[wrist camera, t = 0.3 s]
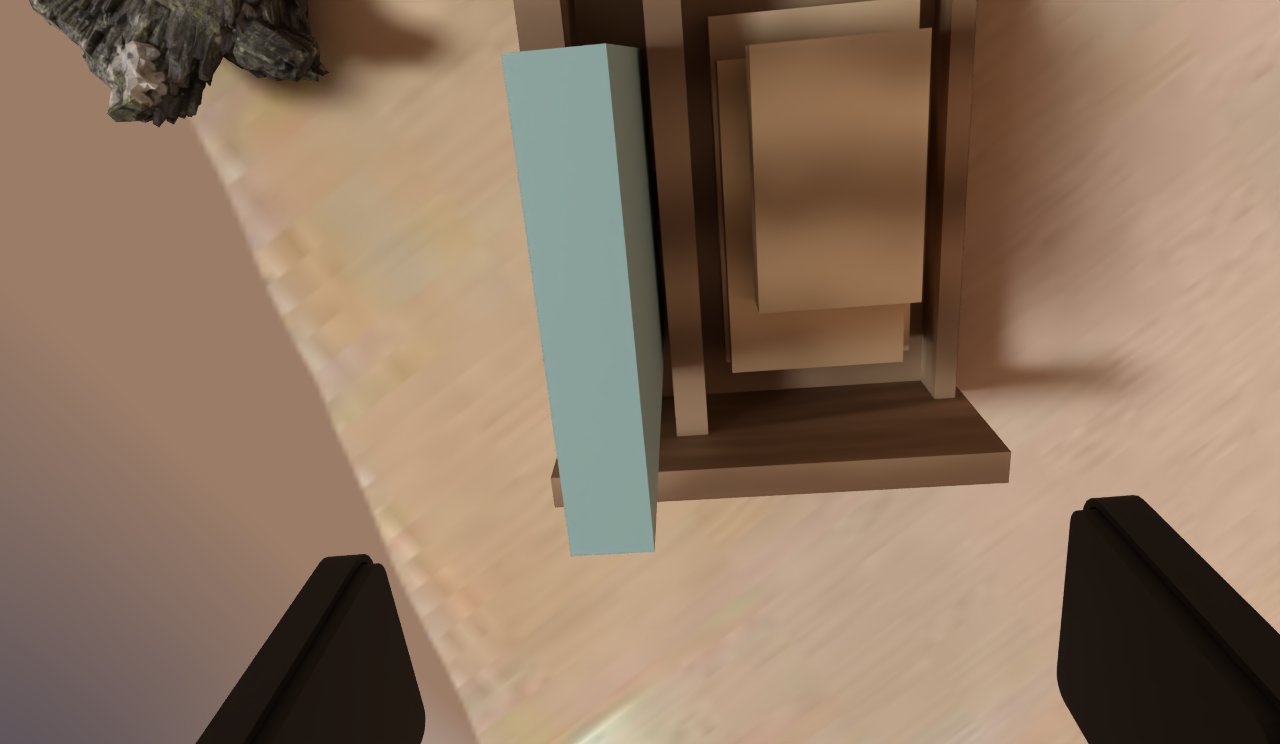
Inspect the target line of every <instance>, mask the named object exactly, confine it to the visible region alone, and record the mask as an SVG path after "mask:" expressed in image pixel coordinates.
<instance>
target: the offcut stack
mask: <svg viewBox="0 0 1280 744" xmlns="http://www.w3.org/2000/svg"><path fill="white" fill-rule="evenodd" d="M919 21H920V0H875V1H865V2H854V3H844V4H834V5H824V6H813V7H803V8H793V9H782V10H772V11H762V12H752V13H741V14H731V15H721V16H711V17H707V38H708V56H709V75H710V93H711V112H712V130H713V149H714V167H715V186H716V205H717V223H718V242H719V260H720V279H721V297H722V316H723V334H724V350H725V357H726V362H731V366H732V372H733V373H738V372H753V371H768V370H784V369H799V368H814V367H829V366H845V365H860V364H875V363H890V362H903V351H904V350H909V331H910V303H916V302H922V279H923V252H924V225H925V199H926V172H927V145H928V119H929V92H930V65H931V38H932V28H924V29H919Z"/></svg>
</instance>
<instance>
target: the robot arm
mask: <svg viewBox="0 0 1280 744" xmlns="http://www.w3.org/2000/svg"><path fill="white" fill-rule="evenodd" d="M1057 681H1058V686H1059V690H1060V693H1061V696H1062V698H1063V700H1064V702H1065V704H1066V706H1067V707H1068V709H1069V711H1070V713H1071V714H1072V716H1073V718H1074V719H1075V721H1076V723H1077V725H1078V726H1079V728H1080V730H1081V731H1082V733H1083V735H1084V737H1085V738H1086V740H1087V742H1088V743H1089V744H1280V634H1279V633H1278V632H1277V631H1276V630H1275V629H1274V628H1273V627H1272V626H1271V625H1270V624H1269V623H1268V622H1267V621H1266V620H1265V619H1264V618H1263V617H1262V616H1261V615H1260V614H1259V613H1258V612H1257V611H1256V610H1255V609H1254V608H1253V607H1252V606H1251V605H1250V604H1248V603H1247V602H1246V601H1245V600H1244V599H1243V598H1242V597H1241V596H1240V595H1239V594H1238V593H1237V592H1236V591H1235V590H1234V589H1233V588H1232V587H1231V586H1230V585H1229V584H1228V583H1227V582H1226V581H1225V580H1224V579H1223V578H1222V577H1221V576H1220V575H1219V574H1218V573H1217V572H1216V571H1215V570H1214V569H1213V568H1212V567H1211V566H1210V565H1209V564H1208V563H1207V562H1206V561H1205V560H1204V559H1203V558H1202V557H1201V556H1200V555H1199V554H1198V553H1197V552H1196V551H1195V550H1194V549H1193V548H1192V547H1191V546H1190V545H1189V544H1188V543H1187V542H1186V541H1185V540H1184V539H1183V538H1182V537H1181V536H1180V535H1179V534H1178V533H1177V532H1176V531H1175V530H1174V529H1173V528H1172V527H1171V526H1170V525H1169V524H1168V523H1167V522H1166V521H1165V520H1164V519H1163V518H1162V517H1161V516H1160V515H1159V514H1158V513H1157V512H1156V511H1155V510H1154V509H1153V508H1151V507H1150V506H1149V505H1148V504H1147V503H1146V502H1145V501H1144V500H1143V499H1142V498H1140V497H1139V496H1135V495H1129V496H1116V497H1102V498H1090V499H1089V500H1087V501H1086V503H1085V505H1084V508H1083V510H1079V511H1075V512H1073V514H1072V516H1071V520H1070V530H1069V541H1068V552H1067V563H1066V574H1065V585H1064V596H1063V607H1062V618H1061V629H1060V640H1059V651H1058V662H1057ZM424 730H425V710H424V706H423V702H422V699H421V695H420V691H419V688H418V684H417V681H416V677H415V674H414V670H413V667H412V663H411V660H410V656H409V652H408V649H407V645H406V642H405V638H404V635H403V631H402V627H401V624H400V620H399V617H398V613H397V610H396V606H395V602H394V599H393V595H392V592H391V588H390V585H389V581H388V578H387V574H386V571H385V568H384V567H383V566H382V565H381V564H379V563H377V564H373V561H372V560H371V558H370V557H369V556H368V555H366V554H359V555H347V556H333V557H326V558H324V559H323V560H322V561H321V562H320V563H319V565H318V566H317V567H316V569H315V570H314V572H313V573H312V575H311V576H310V578H309V579H308V581H307V582H306V584H305V585H304V586H303V588H302V589H301V591H300V592H299V594H298V595H297V597H296V598H295V600H294V601H293V602H292V604H291V605H290V607H289V609H288V610H287V611H286V613H285V614H284V616H283V617H282V619H281V620H280V622H279V623H278V624H277V626H276V627H275V629H274V630H273V632H272V633H271V635H270V636H269V638H268V639H267V640H266V642H265V643H264V645H263V646H262V648H261V649H260V651H259V652H258V653H257V655H256V656H255V658H254V659H253V661H252V662H251V664H250V666H249V667H248V668H247V670H246V671H245V672H244V674H243V675H242V677H241V678H240V680H239V681H238V683H237V684H236V686H235V687H234V689H233V690H232V691H231V693H230V694H229V696H228V697H227V699H226V700H225V702H224V703H223V705H222V706H221V707H220V709H219V711H218V712H217V714H216V715H215V716H214V718H213V719H212V721H211V722H210V724H209V725H208V726H207V728H206V729H205V731H204V732H203V734H202V735H201V737H200V738H199V740H198V741H197V742H196V744H421V741H422V738H423V735H424Z"/></svg>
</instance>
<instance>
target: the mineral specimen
mask: <svg viewBox="0 0 1280 744" xmlns="http://www.w3.org/2000/svg"><path fill="white" fill-rule="evenodd" d="M29 1H30V4H31V6H32V8H33V10H35V11H36V12H37V13H38V14H40V15H41V16H42V17H43V18H44V19H45V20H46V21H47V22H48V23H49V24H50V25H54V26H55V27H56V28H58V29H59V30H60V31H62V32H63V33H65V34H66V35H67V36H68V37H69V38H70V39H71V40H72V41H73V42H75V43H76V44H77V45H79V46H80V47H81V48H82V50H83V51H84V55H83V58H84V59H85V60H86V62H87V64H88V67H89V69H90V71H91V72H92V73H93V74H95V75H96V76H97V77H98V78H99V79H101V80H102V81H103V82H104V83H105V84H107V85H108V86H109V87H110V88H111V95H110V107H109V110H108V113H107V114H109V115H110V117H112V119H114V120H115V121H116V122H132V121H141V122H145V123H146V122H149V121H152V120H153V124H154V125H156V126H158V127H160V126H161V124H162V123H163V122H164V121H165V120H166V119H167V121H168V122H170V123H172V124H174V123H175V122H176V120H177V118H178V117H181V118H183V119H185V117H186V115H187V116H188V117H192V116H193V115H196V113H197V109H198V106H199V105H200V104H201V100H202V92H203V90H204V88H205V86H206V82H207V83H208V85H209V86H211V81H212V77H213V74H214V72H215V71H216V69H217V68H218V66H219V64H220V63H221V60H222V58H223V57H224V58H226V59H227V60H229V61H230V62H232V63H234V64H235V65H237V66H239V67H240V68H242V69H243V68H244V69H245V70H248V71H250V72H251V73H252V74H253V75H255V76H256V77H257V78H262V77H266V76H268V77H269V78H271V79H273V80H275V81H280V80H283V79H287V80H293V81H295V82H298V81H299V80H300V79H301V78H303V79H305V80H312V81H318V82H319V78H318V74H319V75H322V76H324V75H325V74H327V73H329V72H328V71H327V70H326V68H325V67H324V66H323V65H322V63H321V62H320V53H319V48H318V43H317V41H316V39H315V38H313V37H311V28H310V26H309V23H308V2H307V0H29ZM316 73H317V74H316Z"/></svg>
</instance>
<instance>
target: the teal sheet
mask: <svg viewBox="0 0 1280 744" xmlns="http://www.w3.org/2000/svg"><path fill="white" fill-rule="evenodd" d="M501 57H502V64H503V71H504V78H505V85H506V93H507V100H508V107H509V114H510V121H511V129H512V136H513V143H514V150H515V157H516V165H517V172H518V179H519V186H520V193H521V201H522V208H523V215H524V222H525V229H526V236H527V244H528V251H529V258H530V265H531V272H532V280H533V287H534V294H535V301H536V308H537V316H538V323H539V330H540V337H541V344H542V352H543V359H544V366H545V373H546V380H547V388H548V395H549V402H550V409H551V416H552V423H553V431H554V438H555V445H556V452H557V459H558V467H559V474H560V481H561V488H562V495H563V503H564V510H565V517H566V524H567V531H568V539H569V546H570V553H571V556H583V555H603V554H623V553H643V552H655V533H656V512H657V491H658V470H659V449H660V428H661V407H662V386H663V365H664V344H665V330H664V317H663V305H662V293H661V280H660V268H659V256H658V243H657V231H656V219H655V207H654V194H653V182H652V170H651V157H650V145H649V133H648V120H647V108H646V96H645V83H644V71H643V59H642V48H635V47H628V46H621V45H613V44H606V43H605V44H595V45H585V46H574V47H564V48H553V49H543V50H532V51H522V52H511V53H501Z"/></svg>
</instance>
